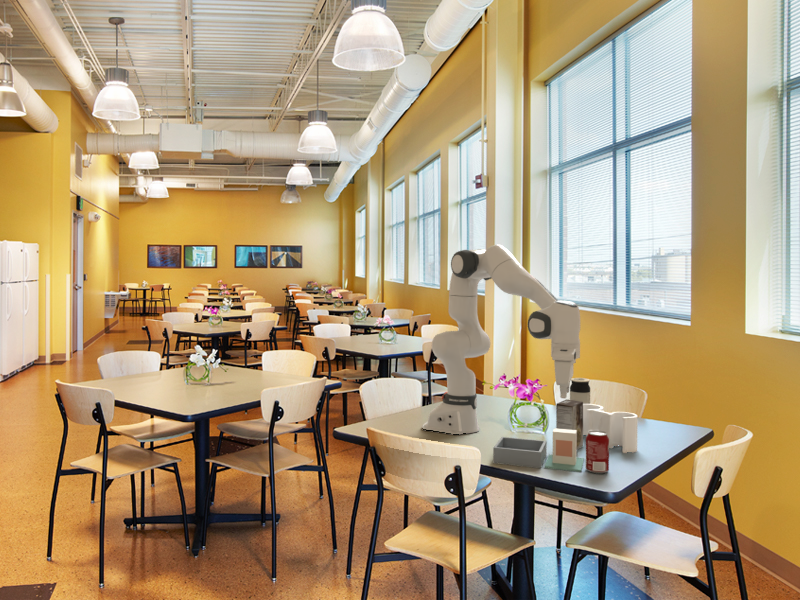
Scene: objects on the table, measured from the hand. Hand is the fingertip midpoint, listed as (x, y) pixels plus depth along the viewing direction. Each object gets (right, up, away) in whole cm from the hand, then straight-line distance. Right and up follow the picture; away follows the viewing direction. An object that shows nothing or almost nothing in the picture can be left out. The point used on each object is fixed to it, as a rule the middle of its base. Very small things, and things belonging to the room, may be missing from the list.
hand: (564, 395), depth 188 cm
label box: (0, -22, +1) cm, 22 cm away
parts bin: (-13, -22, +6) cm, 26 cm away
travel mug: (+21, -20, +55) cm, 62 cm away
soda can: (+8, -23, -7) cm, 25 cm away
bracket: (+21, -22, +24) cm, 39 cm away
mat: (0, -22, +1) cm, 22 cm away
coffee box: (+7, -22, +18) cm, 29 cm away
